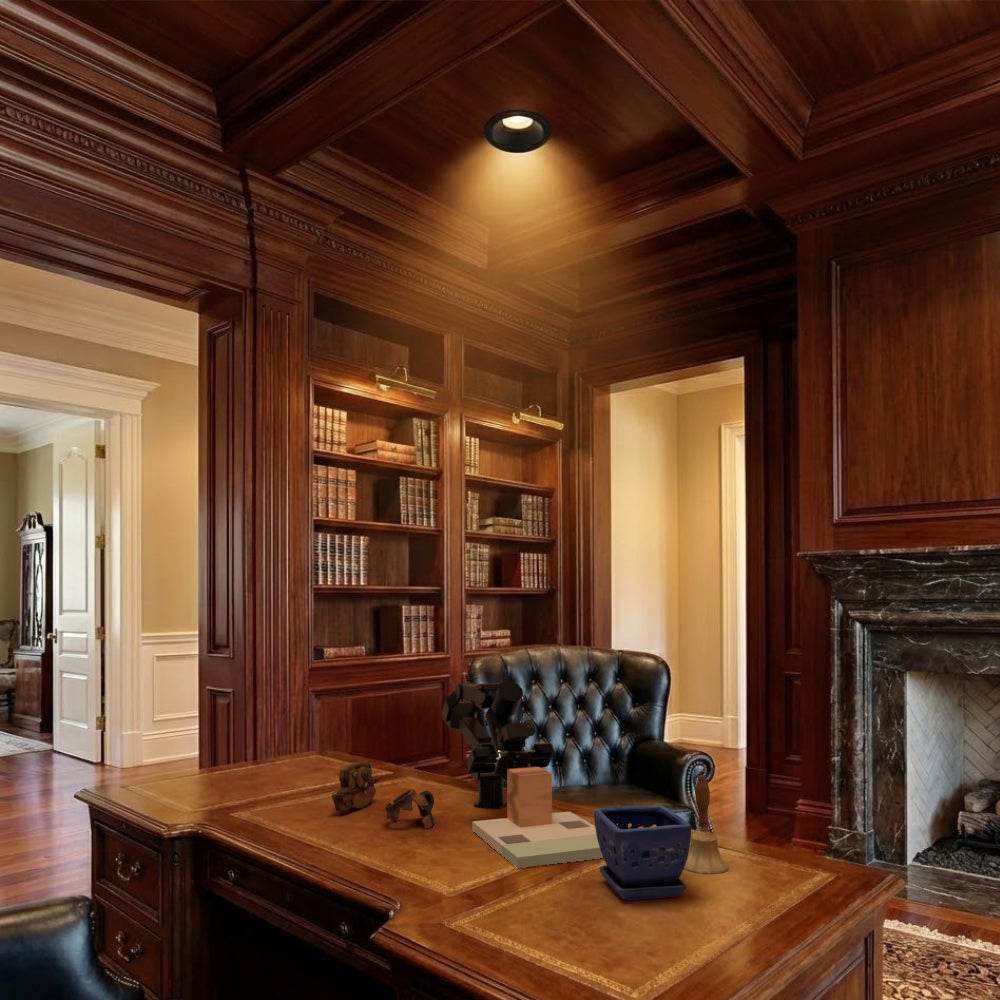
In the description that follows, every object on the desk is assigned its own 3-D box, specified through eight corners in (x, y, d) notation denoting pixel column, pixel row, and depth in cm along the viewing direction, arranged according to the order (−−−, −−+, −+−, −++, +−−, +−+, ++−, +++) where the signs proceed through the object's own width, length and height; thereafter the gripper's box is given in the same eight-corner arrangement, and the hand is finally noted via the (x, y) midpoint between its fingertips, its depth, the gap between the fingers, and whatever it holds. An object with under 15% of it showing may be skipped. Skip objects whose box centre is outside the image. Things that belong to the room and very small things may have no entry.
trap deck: (472, 831, 176) (472, 821, 177) (569, 821, 184) (569, 811, 184) (501, 855, 161) (501, 844, 161) (607, 843, 168) (607, 832, 168)
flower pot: (696, 901, 138) (694, 824, 139) (617, 907, 135) (616, 828, 136) (664, 873, 151) (663, 803, 152) (591, 879, 148) (591, 807, 149)
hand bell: (729, 875, 150) (727, 781, 151) (681, 872, 151) (679, 779, 153) (727, 860, 158) (724, 771, 159) (680, 858, 159) (679, 769, 161)
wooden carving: (348, 818, 186) (349, 771, 187) (329, 817, 188) (330, 770, 189) (381, 800, 202) (382, 757, 203) (364, 799, 203) (364, 755, 204)
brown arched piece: (422, 836, 175) (402, 800, 176) (391, 850, 180) (371, 815, 180) (452, 808, 185) (433, 774, 186) (422, 821, 190) (404, 788, 191)
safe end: (501, 855, 161) (501, 844, 161) (607, 843, 168) (607, 832, 168) (517, 869, 153) (517, 857, 153) (627, 855, 161) (627, 844, 161)
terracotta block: (507, 818, 179) (507, 769, 180) (538, 815, 181) (538, 766, 182) (519, 827, 172) (519, 776, 173) (552, 824, 175) (551, 773, 176)
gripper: (471, 709, 185) (488, 772, 173) (550, 705, 191) (573, 765, 180) (459, 741, 191) (476, 804, 180) (537, 736, 198) (557, 796, 186)
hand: (521, 791), depth 181 cm, fingers closed
